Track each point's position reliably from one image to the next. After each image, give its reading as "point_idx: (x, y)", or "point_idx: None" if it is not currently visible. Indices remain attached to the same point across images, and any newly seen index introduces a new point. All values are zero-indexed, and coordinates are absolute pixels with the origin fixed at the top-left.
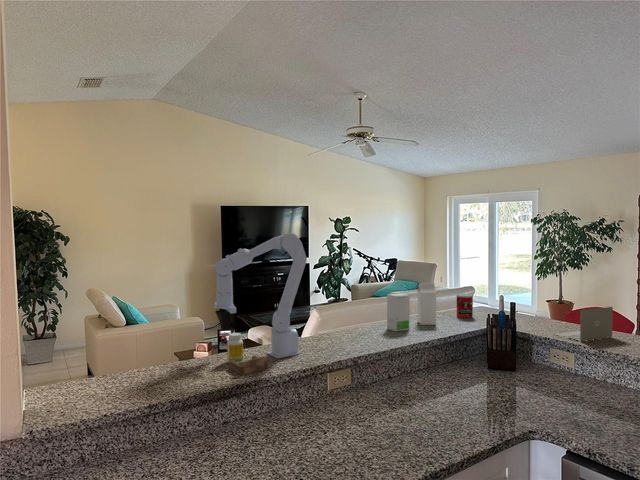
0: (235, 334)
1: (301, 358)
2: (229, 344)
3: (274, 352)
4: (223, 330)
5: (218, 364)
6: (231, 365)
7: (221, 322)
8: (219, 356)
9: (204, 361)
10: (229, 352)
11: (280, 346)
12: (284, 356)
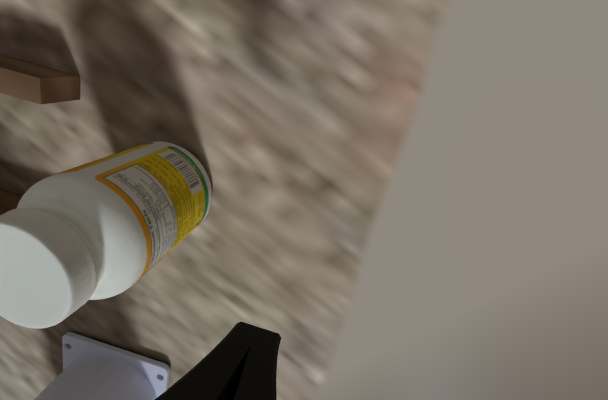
0: (6, 274)
1: (21, 379)
2: (63, 174)
3: (92, 363)
4: (236, 325)
5: (194, 84)
6: (32, 70)
7: (200, 394)
8: (333, 201)
9: (322, 62)
10: (112, 156)
11: (36, 397)
12: (64, 361)
